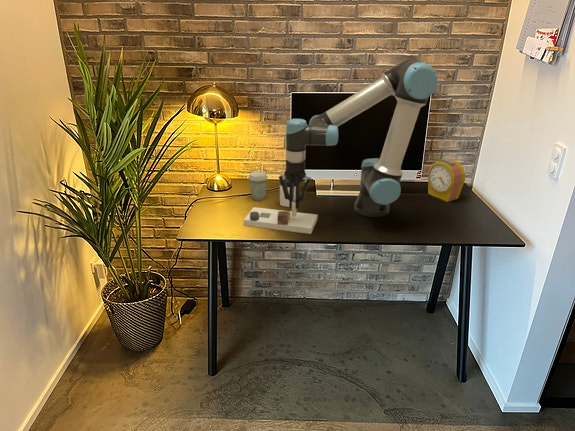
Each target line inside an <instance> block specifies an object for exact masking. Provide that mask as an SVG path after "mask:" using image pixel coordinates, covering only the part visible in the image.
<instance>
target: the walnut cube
mask: <svg viewBox="0 0 575 431" xmlns="http://www.w3.org/2000/svg"><path fill="white" fill-rule="evenodd" d="M286 211H287V210H282V211H278V215H277V224H278V225H288V212H286Z"/></svg>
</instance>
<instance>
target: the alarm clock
mask: <svg viewBox="0 0 575 431" xmlns="http://www.w3.org/2000/svg"><path fill="white" fill-rule="evenodd" d="M427 180H428V181H427V182H428V184H427V186H428V187H427V189H428V191H427V194H428V195H431V196H432V197H434V198H438V199H440V200H442V201H445V202H447V203H448V202H452V201H455V200H457V199H459V197H460V194H461V192H462V189H463V186H464V184H465V181H466V172H465V169H464V167H463V165H462V164H461V163H460V162H459V161H458V160H456V159H452V158H440V159H439V161H437V162H434V163H432V164H431V166H430V167H429V169H428V172H427Z"/></svg>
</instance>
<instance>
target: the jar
mask: <svg viewBox="0 0 575 431" xmlns="http://www.w3.org/2000/svg"><path fill="white" fill-rule="evenodd" d="M285 177H286V176H285ZM285 180H286V184H287V188H288V192H289V187H290V186H289V181H288V179H287V178H286V179H285ZM293 199H296V183H294V198H293ZM279 205H280V206H282V207H286V208H290V207H289V200H288V199H285V196H284V192H283V188H282V183H281V181H280V180H279Z"/></svg>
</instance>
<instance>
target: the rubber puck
mask: <svg viewBox="0 0 575 431" xmlns="http://www.w3.org/2000/svg"><path fill="white" fill-rule="evenodd" d="M249 213H250V212H249ZM250 220H252V221H257V220H259V213H258V212H251V213H250Z"/></svg>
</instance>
